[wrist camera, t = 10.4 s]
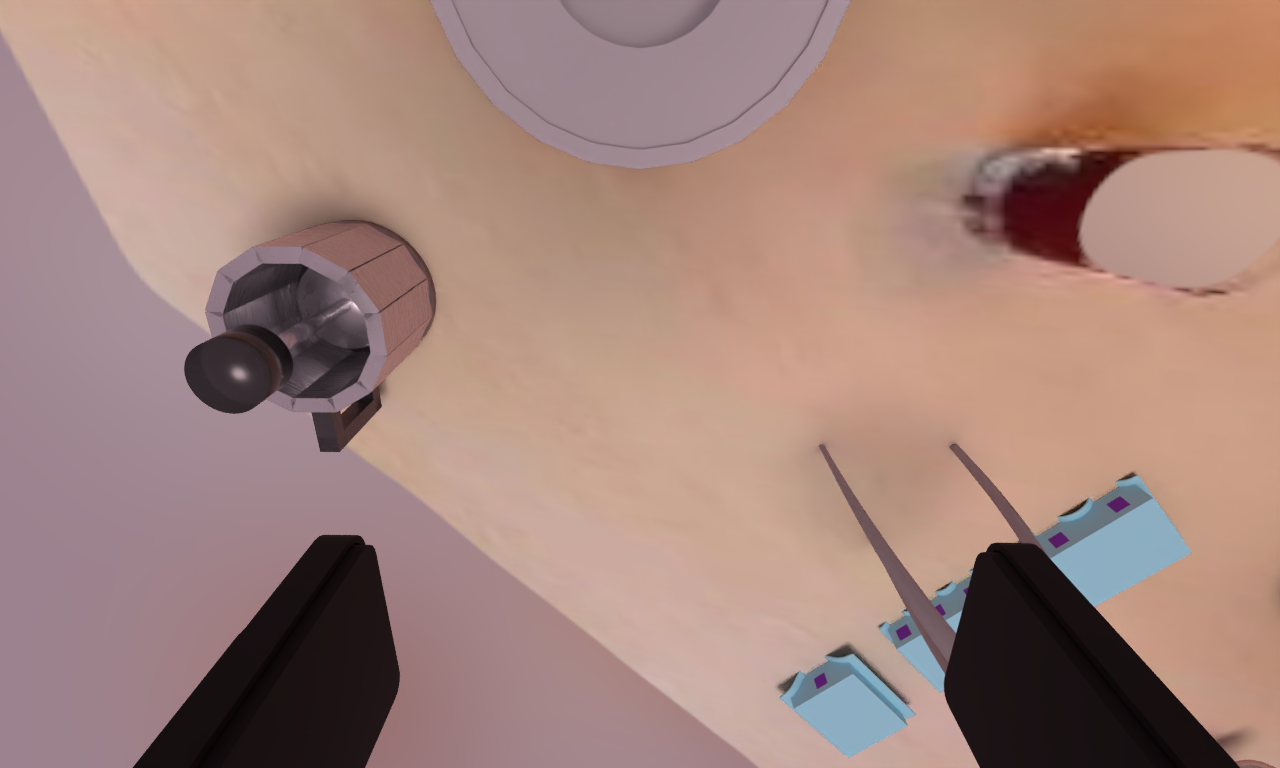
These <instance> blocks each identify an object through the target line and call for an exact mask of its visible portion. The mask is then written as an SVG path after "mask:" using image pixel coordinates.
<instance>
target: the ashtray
mask: <svg viewBox="0 0 1280 768" xmlns="http://www.w3.org/2000/svg"><path fill="white" fill-rule="evenodd" d="M850 1H851V0H430V2H431V4H432V6H433V9H434V11H435V13H436V15H437V17H438V19H439V21H440V24H441V26H442V28H443V30H444V32H445V34H446V36H447V38H448V41H449V43H450V45H451V47H452V49H453V51H454V53H455V55H456V58H457V59H458V60H459V62H460V63H461V64H462V65H463V67H464V68H465V69H466V70H467V72H468V73H469V74H470V76H471V77H472V78H473V79H474V81H475V82H476V83H477V84H478V86H479V87H480V88H481V90H482V91H483V92H484V93H485V95H486V96H487V97H488V98H489V100H490V101H491V102H492V104H493V105H494V106H495V107H496V108H498V109H499V110H500V111H501V112H503V113H504V114H505V115H507V116H508V117H509V118H510V119H512V120H513V121H514V122H515V123H517V124H518V125H519V126H521V127H522V128H523V129H524V130H526V131H527V132H528V133H529V134H531V135H532V136H533V137H535V138H536V139H537V140H538V141H540V142H543V143H545V144H547V145H550V146H552V147H554V148H556V149H559V150H561V151H563V152H566V153H568V154H570V155H573V156H575V157H577V158H580V159H582V160H584V161H587V162H590V163H597V164H604V165H612V166H619V167H626V168H633V169H647V168H654V167H661V166H668V165H675V164H682V163H690V162H693V161H696V160H698V159H700V158H703V157H705V156H707V155H710V154H712V153H714V152H716V151H719V150H721V149H723V148H726V147H728V146H730V145H733V144H735V143H737V142H740V141H742V140H743V139H744V138H745V137H747V136H748V135H749V134H751V133H752V132H753V131H754V130H756V129H757V128H758V127H759V126H761V125H762V124H763V123H765V122H766V121H767V120H768V119H770V118H771V117H772V116H773V115H775V114H776V113H777V112H779V111H780V110H781V109H782V108H784V107H785V106H786V105H787V104H788V103H789V101H790V100H791V99H792V98H793V96H794V95H795V94H796V92H797V91H798V90H799V89H800V87H801V86H802V85H803V84H804V82H805V81H806V80H807V78H808V77H809V76H810V75H811V73H812V72H813V71H814V70H815V68H816V67H817V66H818V64H819V63H820V62H821V61H822V59H823V58H824V57H825V55H826V52H827V50H828V48H829V46H830V44H831V42H832V40H833V38H834V35H835V33H836V31H837V29H838V27H839V25H840V23H841V21H842V18H843V16H844V14H845V12H846V10H847V8H848V6H849V4H850Z"/></svg>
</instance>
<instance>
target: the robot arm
mask: <svg viewBox="0 0 1280 768" xmlns="http://www.w3.org/2000/svg"><path fill="white" fill-rule="evenodd" d="M399 680H400V672H399V666H398V661H397V656H396V651H395V646H394V641H393V636H392V631H391V626H390V621H389V616H388V611H387V606H386V601H385V596H384V591H383V586H382V581H381V576H380V570H379V566H378V561H377V555H376V552H375V549H374V547H373V546H372V545H365V542H364V540H363V539H362V537H361V536H358V535H322V536H319V537H318V538H317V539H316V540H315V541H314V542H313V543H312V545H311V546H310V547H309V548H308V550H307V551H306V552H305V553H304V555H303V556H302V557H301V558H300V560H299V561H298V562H297V563H296V565H295V566H294V567H293V569H292V570H291V571H290V572H289V574H288V575H287V576H286V577H285V579H284V580H283V581H282V582H281V584H280V585H279V586H278V587H277V589H276V590H275V591H274V592H273V594H272V595H271V596H270V598H269V599H268V600H267V601H266V603H265V604H264V605H263V606H262V608H261V609H260V610H259V611H258V613H257V614H256V615H255V617H254V618H253V619H252V620H251V622H250V623H249V624H248V625H247V627H246V628H245V629H244V630H243V631H242V632H241V633H240V634H239V635H238V636H237V637H236V638H235V640H234V641H233V642H232V643H231V645H230V646H229V647H228V648H227V650H226V651H225V652H224V654H223V655H222V656H221V657H220V659H219V660H218V661H217V662H216V664H215V665H214V666H213V668H212V669H211V670H210V671H209V672H208V674H207V675H206V677H204V679H203V680H202V681H201V683H200V684H199V685H198V686H197V688H196V689H195V690H194V691H193V693H192V694H191V695H190V696H189V698H188V699H187V700H186V701H185V703H184V704H183V705H182V706H181V708H180V709H179V710H178V711H177V713H176V714H175V715H174V716H173V718H172V719H171V720H170V721H169V723H168V724H167V725H166V726H165V728H164V729H163V730H162V732H161V733H160V734H159V735H158V737H157V738H156V739H155V740H154V742H153V743H152V744H151V745H150V747H149V748H148V749H147V750H146V752H145V753H144V754H143V756H142V757H141V758H140V759H139V760H138V762H137V763H136V764H135V765H134V767H133V768H365V766H366V764H367V762H368V759H369V757H370V755H371V753H372V750H373V748H374V746H375V743H376V741H377V739H378V737H379V734H380V732H381V730H382V727H383V725H384V723H385V721H386V718H387V716H388V714H389V711H390V709H391V707H392V705H393V702H394V700H395V698H396V695H397V692H398V687H399ZM944 692H945V697H946V701H947V703H948V705H949V708H950V710H951V712H952V714H953V716H954V717H955V719H956V721H957V723H958V725H959V727H960V729H961V731H962V733H963V735H964V737H965V739H966V741H967V743H968V745H969V747H970V749H971V751H972V753H973V755H974V757H975V759H976V761H977V763H978V765H979V767H980V768H1240V767H1239V766H1238V765H1237V763H1236V762H1235V761H1234V760H1233V759H1232V758H1231V757H1230V756H1229V755H1228V754H1227V753H1226V751H1225V750H1224V749H1223V748H1222V747H1221V746H1220V745H1219V744H1218V743H1217V742H1216V740H1215V739H1214V738H1213V737H1212V736H1211V735H1210V734H1209V733H1208V732H1207V731H1206V729H1205V728H1204V727H1203V726H1202V725H1201V724H1200V723H1199V722H1198V721H1197V720H1196V718H1195V717H1194V716H1193V715H1192V714H1191V713H1190V712H1189V711H1188V710H1187V709H1186V707H1185V706H1184V705H1183V704H1182V703H1181V702H1180V701H1179V700H1178V699H1177V698H1176V696H1175V695H1174V694H1173V693H1172V692H1171V691H1170V690H1169V689H1168V688H1167V687H1166V685H1165V684H1164V683H1163V682H1162V681H1161V680H1160V679H1159V678H1158V677H1157V676H1156V674H1155V673H1154V672H1153V671H1152V670H1151V669H1150V668H1149V667H1148V666H1147V665H1146V663H1145V662H1144V661H1143V660H1142V659H1141V658H1140V657H1139V656H1138V655H1137V654H1136V653H1135V651H1134V650H1133V649H1132V648H1131V647H1130V646H1129V645H1128V644H1127V643H1126V642H1125V640H1124V639H1123V638H1122V637H1121V636H1120V635H1119V634H1118V633H1117V632H1116V631H1115V629H1114V628H1113V627H1112V626H1111V625H1110V624H1109V623H1108V622H1107V621H1106V620H1105V618H1104V617H1103V616H1102V615H1101V614H1100V613H1099V612H1098V611H1097V610H1096V609H1095V607H1094V606H1093V605H1092V604H1091V603H1090V602H1089V601H1088V600H1087V599H1086V598H1085V596H1084V595H1083V594H1082V593H1081V592H1080V591H1079V590H1078V589H1077V588H1076V587H1075V585H1074V584H1073V583H1072V582H1071V581H1070V580H1069V579H1068V578H1067V577H1066V576H1065V574H1064V573H1063V572H1062V571H1061V570H1060V569H1059V568H1058V567H1057V566H1056V565H1055V564H1054V562H1053V561H1052V560H1051V559H1050V558H1049V557H1048V556H1047V555H1046V554H1045V553H1044V551H1043V550H1042V549H1041V548H1039V547H1038V546H1037V545H1035V544H1032V543H993V544H991V545H990V546H989V547H988V549H987V551H986V552H983V553H980V554H979V555H978V556H977V558H976V561H975V564H974V568H973V572H972V576H971V580H970V583H969V587H968V591H967V595H966V598H965V602H964V606H963V610H962V613H961V617H960V621H959V625H958V628H957V632H956V636H955V640H954V644H953V647H952V651H951V655H950V659H949V662H948V666H947V670H946V674H945V677H944Z"/></svg>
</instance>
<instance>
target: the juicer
mask: <svg viewBox="0 0 1280 768" xmlns="http://www.w3.org/2000/svg"><path fill="white" fill-rule="evenodd" d="M819 447H820V449H821V451H822V453H823V455H824V457H825V459H826V461H827V463H828V465H829V467H830V469H831V471H832V473H833V475H834V476H835V478H836V480H837V482H838V484H839V486H840V488H841V490H842V492H843V494H844V496H845V498H846V499H847V501H848V503H849V505H850V507H851V509H852V511H853V512H854V514H855V516H856V518H857V520H858V522H859V524H860V525H861V527H862V529H863V531H864V532H865V534H866V536H867V538H868V539H869V541H870V543H871V545H872V546H873V548H874V550H875V552H876V553H877V555H878V556H879V558H880V560H881V561H882V563H883V565H884V566H885V568H886V570H887V572H888V574H889V576H890V578H891V580H892V582H893V584H894V586H895V588H896V590H897V591H898V593H899V595H900V597H901V599H902V601H903V603H904V604H905V606H906V608H907V610H908V612H909V614H910V616H911V617H912V619H913V621H914V623H915V625H916V626H917V628H918V630H919V632H920V633H921V635H922V637H923V639H924V640H925V642H926V644H927V646H928V647H929V649H930V651H931V652H932V654H933V656H934V657H935V659H936V661H937V662H938V664H939V665H940V667H941V669H942V670H943V672H944V674H946V670H947V666H948V662H949V659H950V655H951V651H952V647H953V644H954V640H955V636H956V633H955V631H954V630H953V629H952V628H951V627H950V625H949V624H948V623H947V622H946V620H945V619H944V618H943V617H942V615H941V614H940V613H939V612H938V610H937V609H936V608H935V607H934V605H933V604H932V603H931V602H930V601H929V599H928V598H927V597H926V595H925V594H924V593H923V591H922V590H921V589H920V587H919V586H918V585H917V583H916V582H915V581H914V579H913V578H912V577H911V575H910V574H909V573H908V571H907V570H906V569H905V567H904V566H903V565H902V563H901V562H900V560H899V559H898V558H897V556H896V555H895V553H894V552H893V551H892V549H891V548H890V547H889V545H888V544H887V542H886V541H885V539H884V538H883V537H882V535H881V534H880V532H879V531H878V529H877V528H876V526H875V525H874V523H873V522H872V521H871V519H870V518H869V516H868V515H867V513H866V512H865V510H864V509H863V507H862V506H861V504H860V503H859V501H858V500H857V498H856V497H855V495H854V494H853V492H852V490H851V489H850V487H849V486H848V484H847V482H846V481H845V479H844V478H843V476H842V474H841V473H840V471H839V470H838V468H837V466H836V465H835V463H834V461H833V460H832V458H831V456H830V455H829V453H828V451H827V450H826V448H825V446H823V445H820V446H819ZM950 448H951V450H952V451H953V452H954V453H955V454H956V456H957V457H958V458H959V459H960V460H961V462H962V463H963V464H964V465H965V467H966V468H967V469H968V470H969V472H970V473H971V474H972V475H973V477H974V478H975V479H976V480H977V482H978V483H979V484H980V485H981V487H982V488H983V489H984V490H985V492H986V493H987V494H988V496H989V497H990V498H991V500H992V501H993V502H994V504H995V505H996V506H997V508H998V509H999V511H1000V512H1001V513H1002V515H1003V516H1004V518H1005V519H1006V521H1007V522H1008V523H1009V525H1010V526H1011V528H1012V529H1013V531H1014V532H1015V534H1016V535H1017V537H1018V538H1019V540H1020V541H1021V543H1032V544H1035V545H1037V546H1038V547H1039V548H1041V549H1042V550H1043V551H1044V549H1043V548H1042V546H1041V544H1040V543H1039V541H1038V540H1037V539H1036V537H1035V536H1034V534H1033V533H1032V532H1031V530H1030V529H1029V528H1028V526H1027V525H1026V524H1025V522H1024V521H1023V520H1022V518H1021V517H1020V516H1019V514H1018V513H1017V512H1016V511H1015V509H1014V508H1013V507H1012V506H1011V504H1010V503H1009V502H1008V501H1007V499H1006V498H1005V497H1004V496H1003V495H1002V493H1001V492H1000V491H999V490H998V489H997V487H996V486H995V485H994V484H993V483H992V482H991V480H990V479H989V478H988V477H987V476H986V475H985V474H984V473H983V471H982V470H981V469H980V468H979V467H978V466H977V465H976V464H975V463H974V462H973V461H972V460H971V459H970V458H969V457H968V455H967V454H966V453H965V452H964V451H963V450H962V449H961V448H960V447H959V446H958V445H957V444H954V445H952V446H951V447H950ZM1044 553H1045V554H1046V552H1045V551H1044ZM1046 555H1047V554H1046ZM1047 556H1048V555H1047Z"/></svg>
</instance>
